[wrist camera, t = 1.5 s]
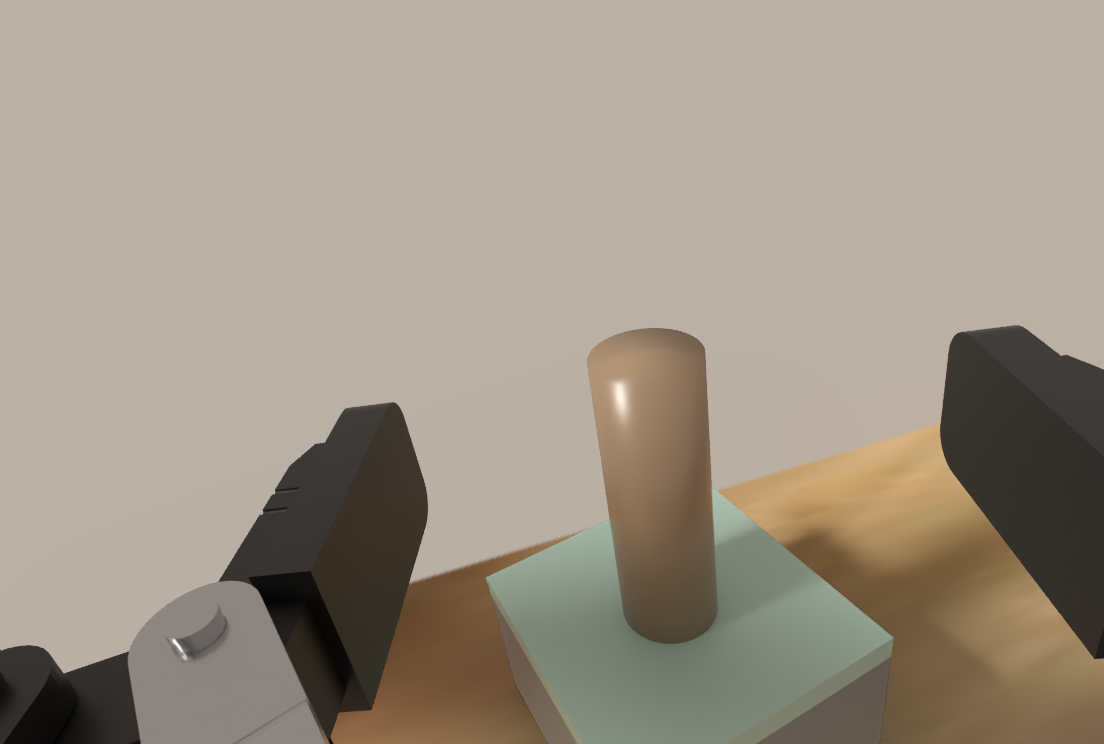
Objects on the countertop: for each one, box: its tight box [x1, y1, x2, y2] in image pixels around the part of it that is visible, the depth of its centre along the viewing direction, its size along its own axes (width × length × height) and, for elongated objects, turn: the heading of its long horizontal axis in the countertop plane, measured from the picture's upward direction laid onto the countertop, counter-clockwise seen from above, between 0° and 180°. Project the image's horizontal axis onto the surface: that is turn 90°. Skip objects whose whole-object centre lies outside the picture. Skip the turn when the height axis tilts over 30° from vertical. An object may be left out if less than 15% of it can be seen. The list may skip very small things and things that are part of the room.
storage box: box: [491, 596, 891, 744], centre depth 29 cm, size 11×11×6 cm
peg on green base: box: [486, 328, 894, 744], centre depth 25 cm, size 11×11×13 cm
